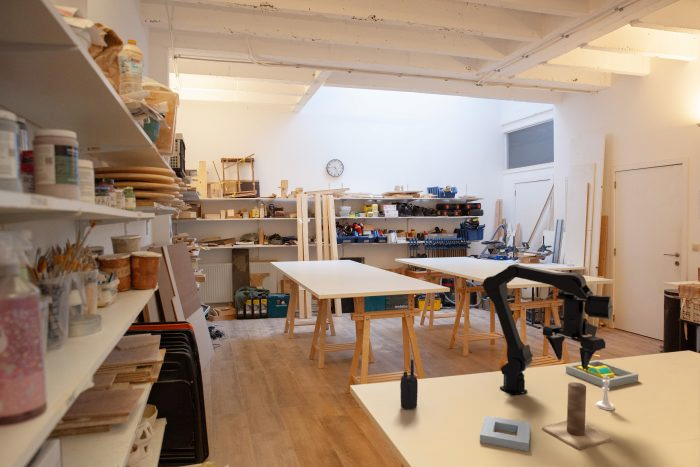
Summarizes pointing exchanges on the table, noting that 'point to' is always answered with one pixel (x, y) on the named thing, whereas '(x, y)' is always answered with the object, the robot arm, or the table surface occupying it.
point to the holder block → (505, 439)
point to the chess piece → (605, 396)
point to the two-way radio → (409, 389)
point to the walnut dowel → (576, 409)
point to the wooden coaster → (578, 442)
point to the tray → (623, 378)
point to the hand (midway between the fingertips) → (571, 364)
